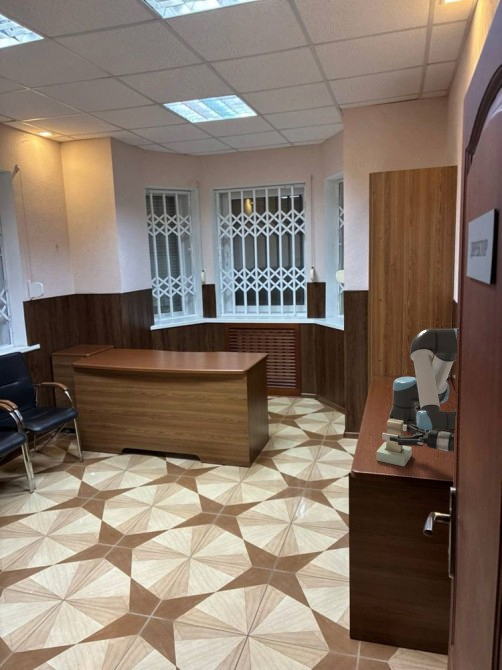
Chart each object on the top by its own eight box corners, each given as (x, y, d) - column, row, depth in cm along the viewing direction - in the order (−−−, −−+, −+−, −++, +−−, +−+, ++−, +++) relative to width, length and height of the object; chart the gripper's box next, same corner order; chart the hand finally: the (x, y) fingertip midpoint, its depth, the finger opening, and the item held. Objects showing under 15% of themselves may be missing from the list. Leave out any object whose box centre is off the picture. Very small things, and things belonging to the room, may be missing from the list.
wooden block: (388, 452, 209) (389, 418, 206) (402, 455, 205) (403, 420, 202) (385, 456, 205) (386, 421, 202) (399, 459, 202) (401, 423, 199)
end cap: (384, 450, 214) (384, 441, 213) (411, 455, 207) (411, 447, 207) (376, 460, 204) (376, 451, 203) (404, 466, 197) (404, 457, 197)
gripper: (431, 460, 184) (378, 449, 195) (444, 438, 205) (395, 429, 216) (432, 442, 183) (378, 432, 194) (444, 421, 203) (395, 413, 215)
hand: (387, 430), depth 205 cm, fingers open, 13 cm apart
